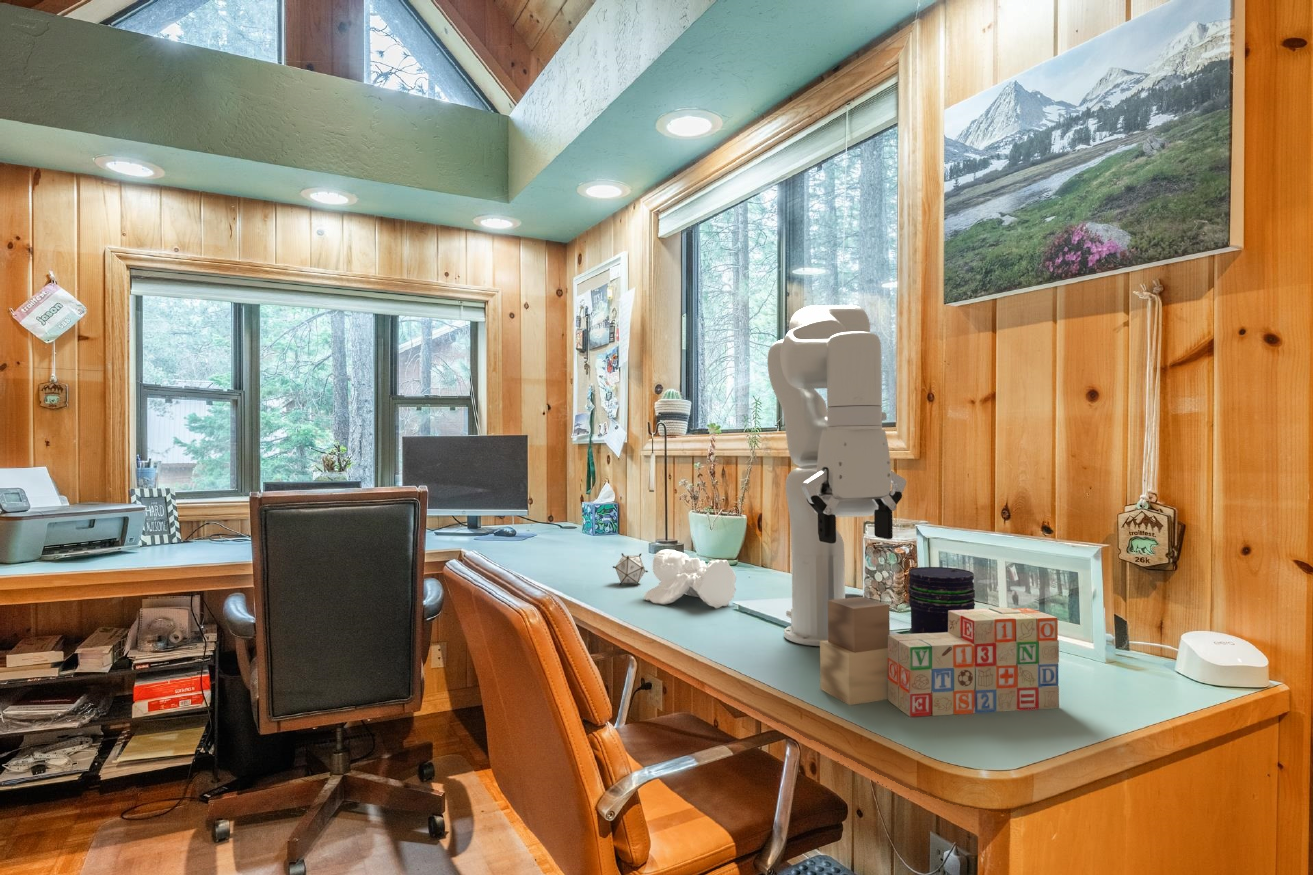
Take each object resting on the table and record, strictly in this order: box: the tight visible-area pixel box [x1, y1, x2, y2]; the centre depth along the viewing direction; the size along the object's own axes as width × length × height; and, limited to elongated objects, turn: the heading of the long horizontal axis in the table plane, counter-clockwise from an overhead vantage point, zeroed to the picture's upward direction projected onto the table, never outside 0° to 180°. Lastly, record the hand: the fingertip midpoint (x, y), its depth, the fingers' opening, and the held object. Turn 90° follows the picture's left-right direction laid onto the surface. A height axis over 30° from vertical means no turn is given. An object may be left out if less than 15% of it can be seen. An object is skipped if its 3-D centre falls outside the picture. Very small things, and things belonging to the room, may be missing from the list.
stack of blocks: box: [887, 606, 1060, 718], centre depth 97 cm, size 21×6×12 cm, turn 98°
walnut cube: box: [828, 596, 891, 653], centre depth 101 cm, size 6×6×6 cm
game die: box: [612, 552, 649, 587], centre depth 184 cm, size 9×8×10 cm
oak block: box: [819, 640, 888, 706], centre depth 101 cm, size 7×7×7 cm
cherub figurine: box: [643, 548, 737, 609], centre depth 162 cm, size 13×12×20 cm
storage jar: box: [907, 566, 976, 634], centre depth 113 cm, size 10×10×15 cm
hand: (855, 540), depth 102 cm, fingers open, 9 cm apart
